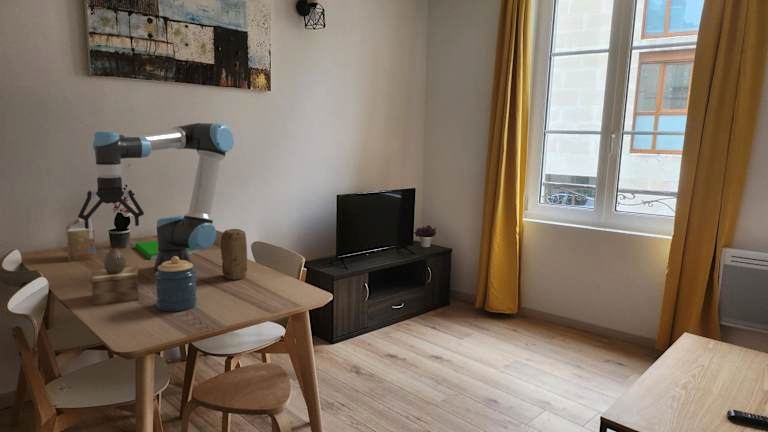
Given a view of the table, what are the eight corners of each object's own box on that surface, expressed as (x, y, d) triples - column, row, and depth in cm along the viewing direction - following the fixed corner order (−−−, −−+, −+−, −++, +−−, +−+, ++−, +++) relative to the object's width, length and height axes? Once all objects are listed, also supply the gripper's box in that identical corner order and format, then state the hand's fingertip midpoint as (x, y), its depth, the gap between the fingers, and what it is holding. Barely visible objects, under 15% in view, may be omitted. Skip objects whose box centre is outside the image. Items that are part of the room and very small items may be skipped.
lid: (137, 268, 188) (137, 265, 188) (137, 277, 178) (137, 274, 178) (93, 272, 182) (93, 269, 182) (90, 282, 171) (90, 278, 171)
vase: (111, 276, 175) (109, 251, 174) (100, 272, 179) (98, 248, 177) (130, 271, 181) (128, 248, 180) (119, 268, 185) (117, 245, 183)
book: (181, 243, 269) (180, 238, 268) (198, 254, 247) (198, 248, 247) (135, 248, 255) (135, 243, 255) (149, 260, 233) (149, 254, 233)
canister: (156, 314, 166) (153, 262, 163) (156, 301, 178) (154, 253, 175) (198, 309, 171) (196, 259, 168) (196, 298, 183) (194, 250, 180)
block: (249, 278, 209) (248, 230, 206) (233, 281, 204) (232, 233, 200) (235, 272, 216) (234, 227, 213) (219, 276, 211) (217, 229, 207)
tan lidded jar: (96, 259, 231) (93, 218, 228) (69, 262, 226) (66, 220, 222) (94, 254, 240) (91, 215, 237) (68, 257, 234) (64, 216, 231)
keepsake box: (138, 290, 190) (137, 269, 188) (138, 300, 179) (137, 278, 178) (95, 294, 184) (94, 273, 182) (93, 305, 173) (91, 282, 172)
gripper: (148, 174, 183) (151, 232, 187) (68, 176, 172) (73, 236, 176) (149, 176, 176) (152, 236, 180) (65, 178, 165) (70, 241, 169)
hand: (113, 236), depth 178 cm, fingers open, 13 cm apart
